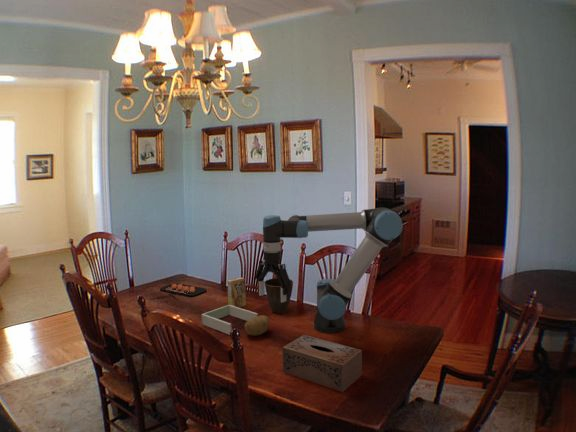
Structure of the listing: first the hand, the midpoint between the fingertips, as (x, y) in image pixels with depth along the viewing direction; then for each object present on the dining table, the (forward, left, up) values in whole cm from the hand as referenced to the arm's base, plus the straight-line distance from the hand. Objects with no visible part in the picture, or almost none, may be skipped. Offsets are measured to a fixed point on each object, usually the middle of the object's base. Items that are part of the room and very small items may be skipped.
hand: (272, 298), depth 195 cm
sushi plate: (+90, -10, -20) cm, 93 cm away
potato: (+9, 0, -19) cm, 21 cm away
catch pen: (+29, 0, -19) cm, 35 cm away
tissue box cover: (-36, +11, -19) cm, 42 cm away
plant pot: (+21, -28, -19) cm, 40 cm away
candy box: (+44, -19, -19) cm, 52 cm away
